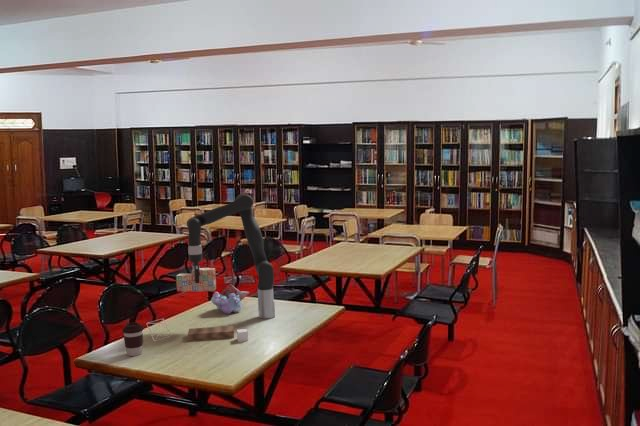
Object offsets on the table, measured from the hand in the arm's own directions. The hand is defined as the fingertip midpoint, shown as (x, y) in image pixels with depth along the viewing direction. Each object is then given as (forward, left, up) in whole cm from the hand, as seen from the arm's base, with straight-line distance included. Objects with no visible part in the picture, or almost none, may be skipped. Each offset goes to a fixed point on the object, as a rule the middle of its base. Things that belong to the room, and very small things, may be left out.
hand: (196, 281), depth 327 cm
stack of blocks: (0, 0, -5) cm, 5 cm away
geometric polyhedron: (+22, +15, -26) cm, 37 cm away
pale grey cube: (-20, +35, -26) cm, 48 cm away
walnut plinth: (-5, +23, -26) cm, 35 cm away
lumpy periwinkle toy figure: (-21, -26, -26) cm, 43 cm away
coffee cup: (+34, +37, -26) cm, 57 cm away
